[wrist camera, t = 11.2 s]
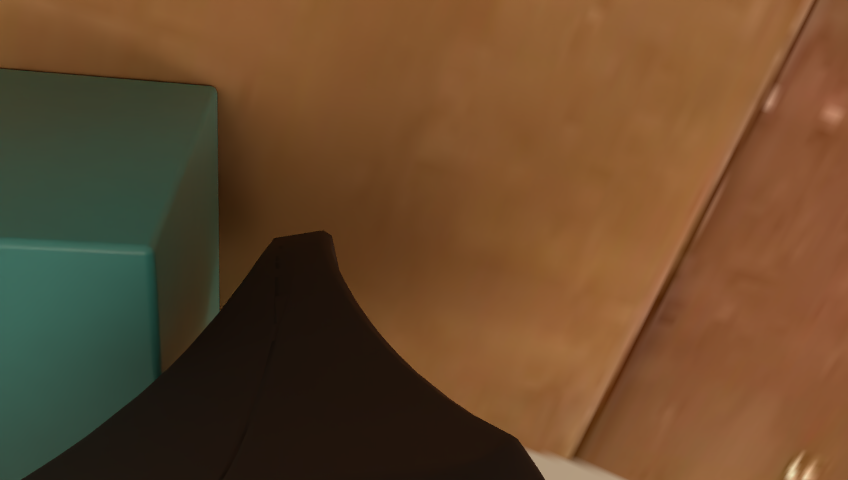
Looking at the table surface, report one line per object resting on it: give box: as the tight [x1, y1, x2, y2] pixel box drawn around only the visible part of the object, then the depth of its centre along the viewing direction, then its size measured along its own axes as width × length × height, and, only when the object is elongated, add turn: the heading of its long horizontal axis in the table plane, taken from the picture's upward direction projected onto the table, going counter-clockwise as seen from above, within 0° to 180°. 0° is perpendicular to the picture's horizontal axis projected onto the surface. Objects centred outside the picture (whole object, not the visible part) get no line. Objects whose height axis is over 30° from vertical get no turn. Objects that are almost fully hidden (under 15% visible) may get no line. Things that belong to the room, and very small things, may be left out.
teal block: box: [0, 69, 220, 480], centre depth 11 cm, size 5×5×5 cm
